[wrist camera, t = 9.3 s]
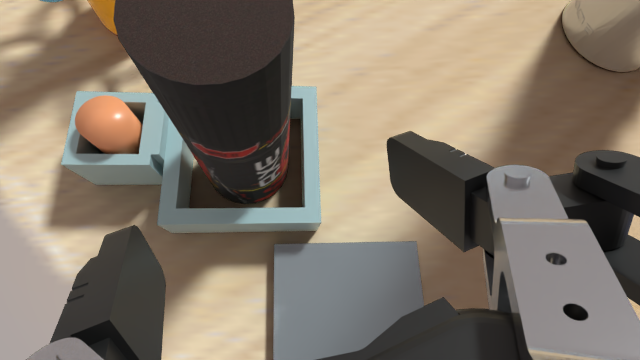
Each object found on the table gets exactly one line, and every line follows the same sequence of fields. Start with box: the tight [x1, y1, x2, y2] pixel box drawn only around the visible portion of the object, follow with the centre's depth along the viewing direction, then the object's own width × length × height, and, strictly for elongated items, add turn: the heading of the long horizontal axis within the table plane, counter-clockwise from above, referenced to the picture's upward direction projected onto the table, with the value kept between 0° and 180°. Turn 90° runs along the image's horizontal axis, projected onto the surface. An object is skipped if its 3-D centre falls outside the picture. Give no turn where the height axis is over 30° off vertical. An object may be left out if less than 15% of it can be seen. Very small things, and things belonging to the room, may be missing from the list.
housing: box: [61, 86, 321, 233], centre depth 24 cm, size 16×10×4 cm, turn 92°
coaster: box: [273, 241, 424, 360], centre depth 23 cm, size 10×10×1 cm
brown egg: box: [75, 95, 143, 154], centre depth 23 cm, size 3×3×4 cm
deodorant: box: [113, 0, 294, 204], centre depth 19 cm, size 6×6×15 cm
